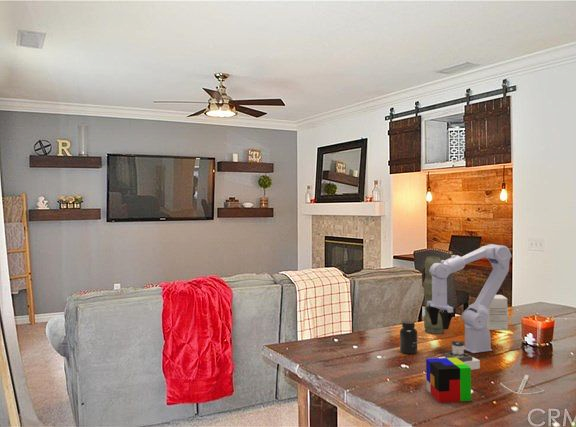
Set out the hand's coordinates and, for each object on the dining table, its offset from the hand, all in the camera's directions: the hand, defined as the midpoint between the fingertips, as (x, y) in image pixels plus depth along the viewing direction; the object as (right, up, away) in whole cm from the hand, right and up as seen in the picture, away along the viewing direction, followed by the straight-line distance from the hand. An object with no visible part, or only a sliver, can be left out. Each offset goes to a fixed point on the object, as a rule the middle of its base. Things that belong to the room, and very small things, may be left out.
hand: (440, 326), depth 191 cm
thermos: (+7, -10, +29) cm, 32 cm away
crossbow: (+15, -11, -37) cm, 42 cm away
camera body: (+1, -10, -19) cm, 21 cm away
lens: (+1, -7, -19) cm, 20 cm away
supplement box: (+37, -9, +35) cm, 52 cm away
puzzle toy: (-11, -11, -43) cm, 46 cm away
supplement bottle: (-12, -10, 0) cm, 16 cm away
